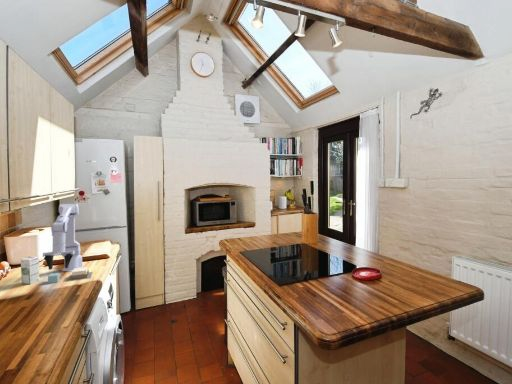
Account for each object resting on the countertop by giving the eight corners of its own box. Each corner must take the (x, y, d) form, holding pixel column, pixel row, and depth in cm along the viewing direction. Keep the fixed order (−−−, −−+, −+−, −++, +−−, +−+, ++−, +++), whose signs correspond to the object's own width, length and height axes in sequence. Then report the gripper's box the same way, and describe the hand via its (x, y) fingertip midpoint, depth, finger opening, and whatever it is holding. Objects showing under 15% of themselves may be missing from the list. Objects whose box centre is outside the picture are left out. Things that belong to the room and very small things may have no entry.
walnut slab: (73, 275, 160) (73, 271, 160) (88, 273, 164) (88, 269, 164) (71, 279, 153) (71, 276, 153) (87, 277, 157) (87, 274, 157)
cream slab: (74, 271, 160) (74, 268, 160) (87, 270, 163) (87, 266, 163) (72, 275, 154) (72, 272, 154) (86, 273, 157) (86, 270, 157)
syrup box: (39, 280, 152) (39, 256, 151) (30, 284, 146) (29, 259, 146) (31, 280, 153) (30, 255, 152) (21, 284, 147) (20, 259, 146)
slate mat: (70, 275, 161) (70, 274, 161) (92, 272, 167) (92, 271, 167) (66, 282, 150) (66, 281, 150) (90, 278, 156) (90, 278, 156)
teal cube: (50, 281, 152) (49, 273, 151) (59, 280, 154) (59, 272, 153) (48, 284, 148) (47, 276, 147) (57, 282, 150) (57, 275, 149)
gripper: (39, 245, 139) (39, 271, 138) (70, 243, 142) (70, 268, 141) (46, 244, 145) (46, 268, 144) (76, 242, 149) (75, 266, 148)
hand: (58, 268), depth 143 cm, fingers open, 7 cm apart
